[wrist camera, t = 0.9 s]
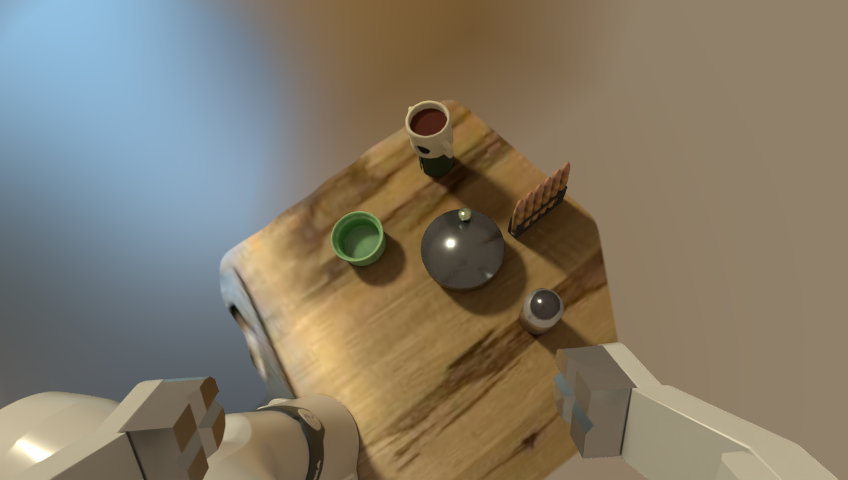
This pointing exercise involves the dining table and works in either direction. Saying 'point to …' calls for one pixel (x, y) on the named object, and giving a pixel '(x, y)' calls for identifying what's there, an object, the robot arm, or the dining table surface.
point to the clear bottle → (540, 311)
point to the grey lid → (462, 250)
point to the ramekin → (358, 238)
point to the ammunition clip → (539, 202)
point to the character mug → (431, 136)
